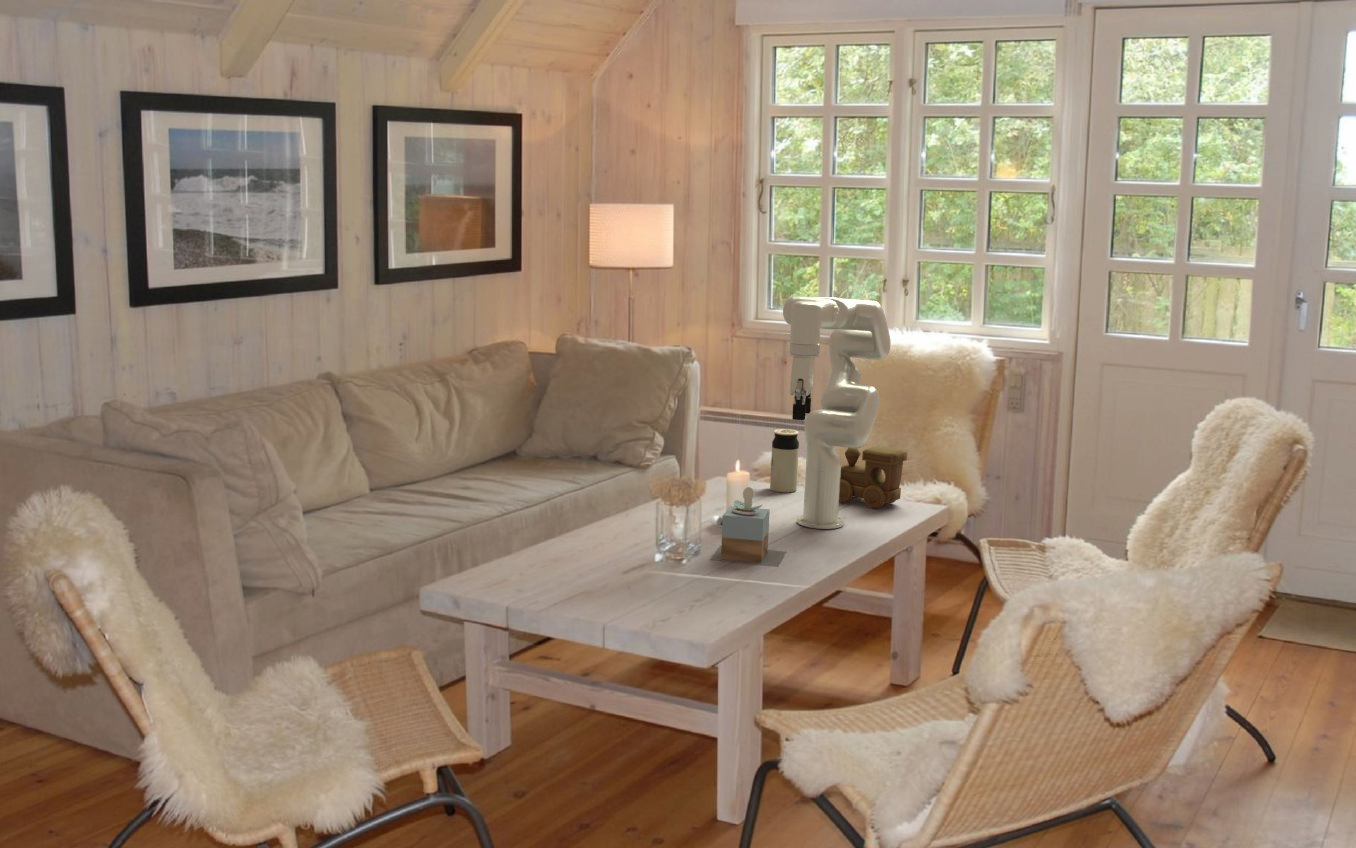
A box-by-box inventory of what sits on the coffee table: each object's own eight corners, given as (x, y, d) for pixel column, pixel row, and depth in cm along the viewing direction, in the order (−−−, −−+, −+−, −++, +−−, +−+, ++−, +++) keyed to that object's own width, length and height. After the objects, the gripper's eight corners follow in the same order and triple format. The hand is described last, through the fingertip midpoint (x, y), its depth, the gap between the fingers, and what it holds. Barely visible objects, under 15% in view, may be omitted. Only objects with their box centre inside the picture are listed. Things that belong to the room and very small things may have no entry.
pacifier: (752, 518, 341) (764, 512, 346) (753, 493, 340) (765, 488, 345) (726, 513, 345) (738, 508, 350) (727, 488, 344) (739, 483, 349)
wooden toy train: (905, 505, 408) (909, 449, 405) (888, 512, 399) (891, 455, 396) (844, 494, 419) (848, 440, 416) (826, 501, 410) (829, 445, 407)
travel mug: (799, 488, 425) (802, 430, 421) (792, 494, 417) (795, 434, 414) (774, 485, 427) (777, 427, 424) (766, 491, 420) (769, 432, 417)
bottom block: (728, 548, 354) (729, 527, 353) (767, 552, 352) (768, 530, 351) (720, 558, 344) (721, 537, 343) (761, 562, 342) (762, 540, 341)
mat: (720, 547, 356) (720, 545, 356) (786, 553, 353) (786, 551, 353) (709, 562, 343) (709, 560, 343) (778, 568, 339) (778, 566, 339)
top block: (729, 527, 353) (730, 506, 352) (768, 530, 351) (769, 509, 350) (721, 537, 343) (722, 515, 342) (762, 540, 341) (763, 518, 340)
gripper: (794, 344, 365) (791, 409, 368) (784, 353, 348) (781, 421, 352) (823, 346, 363) (820, 411, 366) (814, 355, 347) (811, 423, 350)
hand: (801, 416), depth 359 cm, fingers open, 9 cm apart
